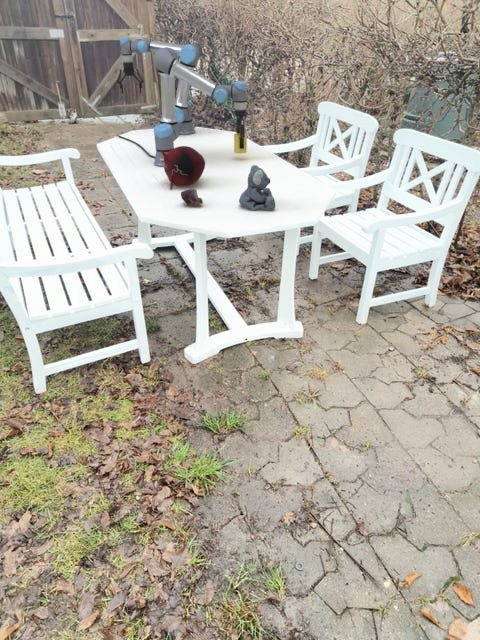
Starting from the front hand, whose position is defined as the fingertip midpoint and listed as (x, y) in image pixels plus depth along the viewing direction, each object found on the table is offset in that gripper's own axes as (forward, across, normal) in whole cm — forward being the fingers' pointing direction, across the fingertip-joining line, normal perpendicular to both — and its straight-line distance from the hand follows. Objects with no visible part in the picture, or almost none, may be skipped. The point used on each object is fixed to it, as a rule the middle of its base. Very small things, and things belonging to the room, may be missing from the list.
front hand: (240, 146), depth 296 cm
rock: (+9, -79, +41) cm, 89 cm away
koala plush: (+8, -87, +8) cm, 88 cm away
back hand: (-21, +92, +68) cm, 117 cm away
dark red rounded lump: (+9, -42, +41) cm, 59 cm away
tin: (+3, 0, 0) cm, 3 cm away
